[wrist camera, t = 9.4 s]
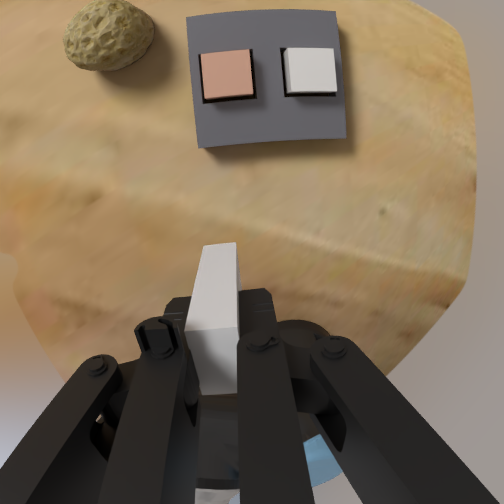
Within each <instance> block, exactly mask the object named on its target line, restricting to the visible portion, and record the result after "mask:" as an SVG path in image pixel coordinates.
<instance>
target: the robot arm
mask: <svg viewBox="0 0 504 504" xmlns="http://www.w3.org/2000/svg"><path fill="white" fill-rule="evenodd" d="M134 332H135V335H136V338H137V341H138V344H139V346H140V349H141V352H142V353H141V356H140V358H139V359H137V360H134V361H130V362H126V363H122V364H118V363H117V361H116V360H115V358H114V357H112V356H110V355H103V354H101V355H96V356H93V357H91V358H89V359H87V360H86V361H85V362H83V363H82V364H81V365H80V367H79V368H78V369H77V370H76V371H75V373H74V374H73V375H72V376H71V378H70V379H69V380H68V381H67V382H66V384H65V385H64V386H63V387H62V389H61V390H60V391H59V392H58V394H57V395H56V396H55V397H54V399H53V400H52V401H51V402H50V404H49V405H48V406H47V407H46V409H45V410H44V412H42V414H41V415H40V416H39V418H38V419H37V420H36V422H35V423H34V424H33V425H32V427H31V428H30V429H29V431H28V432H27V433H26V435H25V436H24V437H23V439H22V440H21V441H20V443H19V444H18V445H17V447H16V448H15V450H14V451H13V452H12V454H11V455H10V456H9V458H8V459H7V461H6V462H5V463H4V465H3V466H2V467H1V469H0V504H228V502H229V501H230V499H231V498H232V497H234V496H235V495H236V494H238V493H239V492H240V504H315V502H314V496H313V491H312V487H314V486H317V485H320V484H322V483H325V482H326V481H329V480H331V479H333V478H334V477H336V476H338V475H339V474H340V473H342V472H344V474H345V476H346V477H347V479H348V481H349V482H350V484H351V485H352V487H353V489H354V490H355V492H356V493H357V495H358V496H359V498H360V500H361V501H362V503H363V504H499V502H498V501H497V500H496V499H495V498H494V497H493V496H492V494H491V493H490V492H489V491H488V490H487V489H486V487H485V486H484V485H483V484H482V483H481V482H480V481H479V479H478V478H477V477H476V476H475V475H474V474H473V473H472V472H471V471H470V469H469V468H468V467H467V466H466V465H465V464H464V463H463V462H462V460H461V459H460V458H459V457H458V456H457V455H456V454H455V453H454V451H453V450H452V449H451V448H450V447H449V446H448V445H447V444H446V443H445V441H444V440H443V439H442V438H441V437H440V436H439V435H438V434H437V433H436V431H435V430H434V429H433V428H432V427H431V426H430V425H429V424H428V423H427V422H426V420H425V419H424V418H423V417H422V416H421V415H420V414H419V413H418V412H417V411H416V409H415V408H414V407H413V406H412V405H411V404H410V403H409V402H408V401H407V400H406V399H405V397H404V396H403V395H402V394H401V393H400V392H399V391H398V390H397V389H396V387H395V386H394V385H393V384H392V383H391V382H390V381H389V380H388V379H387V378H386V377H385V376H384V374H383V373H382V372H381V371H380V370H379V369H378V368H377V367H376V366H375V365H374V364H373V363H372V361H371V360H370V359H369V358H368V357H367V356H366V355H365V354H364V353H363V352H362V351H361V350H360V348H359V347H358V346H357V345H356V344H355V343H354V342H352V341H351V340H350V339H348V338H345V337H342V336H330V335H329V334H328V332H327V331H326V330H325V329H324V328H322V327H321V326H319V325H317V324H315V323H312V322H309V321H304V320H287V321H281V322H277V320H276V315H275V310H274V306H273V301H272V296H271V294H270V293H269V292H268V291H267V290H266V289H265V288H260V289H251V290H242V287H241V279H240V271H239V263H238V255H237V246H236V242H234V243H225V244H215V245H206V246H204V247H203V251H202V255H201V259H200V264H199V268H198V272H197V276H196V280H195V285H194V289H193V293H192V296H189V297H177V298H173V299H172V300H171V301H170V302H169V303H168V304H167V305H166V308H165V311H164V315H163V316H159V317H153V318H150V319H147V320H145V321H143V322H141V323H140V324H139V325H137V327H136V328H135V329H134ZM199 386H200V387H199ZM100 414H101V416H102V417H101V418H100V419H99V420H98V421H97V422H96V419H97V418H98V416H99V415H100Z"/></svg>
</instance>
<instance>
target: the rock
mask: <svg viewBox="0 0 504 504" xmlns="http://www.w3.org/2000/svg"><path fill="white" fill-rule="evenodd" d="M153 35H154V25H153V23H152V20H151V17H149V16H148V15H147V14H146V13H145V12H144V11H143V10H140V9H139V8H137V7H135V6H133V5H132V4H131V3H129V2H127V1H124V0H94V1H93V2H91V3H88V4H87V5H86V6H85V7H84V8H82V9H81V10H80V11H79V12H78V13H77V14H76V15H75V16H74V17H73V19H72V20H71V22H70V23H69V24H68V27H67V29H66V30H65V34H64V37H63V42H64V46H65V52H66V54H67V57H68V59H69V60H70V61H72V62H73V63H74V64H75V65H76V66H77V67H79V68H81V69H85V70H90V71H95V70H102V71H104V70H110V71H115V70H118V69H121V68H124V67H125V66H127V65H131V63H132V62H134V61H136V60H138V59H139V58H141V57H142V56H143V55H144V54H145V52H146V49H147V48H148V46H149V45H151V43H152V41H153Z"/></svg>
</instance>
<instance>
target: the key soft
mask: <svg viewBox="0 0 504 504" xmlns="http://www.w3.org/2000/svg"><path fill="white" fill-rule="evenodd" d="M283 60H284V71H285V82H286V94H293V93H331V92H336V91H337V83H336V71H335V60H334V50H333V49H332V48H287V49H286V50H285V52H284V53H283Z"/></svg>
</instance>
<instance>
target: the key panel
mask: <svg viewBox="0 0 504 504" xmlns="http://www.w3.org/2000/svg"><path fill="white" fill-rule="evenodd" d="M186 22H187V36H188V49H189V61H190V72H191V83H192V94H193V104H194V113H195V123H196V132H197V141H198V148H206V147H215V146H224V145H234V144H244V143H256V142H269V141H285V140H304V139H340V138H346V117H345V100H344V85H343V73H342V62H341V51H340V42H339V34H338V25H337V18H336V11H323V10H298V9H273V10H248V11H234V12H223V13H214V14H206V15H198V16H192V17H186ZM287 48H332V49H333V50H334V60H335V71H336V83H337V91H336V92H331V93H329V97H284V88H283V76H282V65H281V55H280V52H285V50H286V49H287ZM246 49H249V53H250V54H252V65H253V76H254V87H255V99H248V100H236V101H226V102H217V103H209V104H205V97H204V87H203V76H202V65H201V54H206V53H214V52H223V51H234V50H246Z"/></svg>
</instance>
